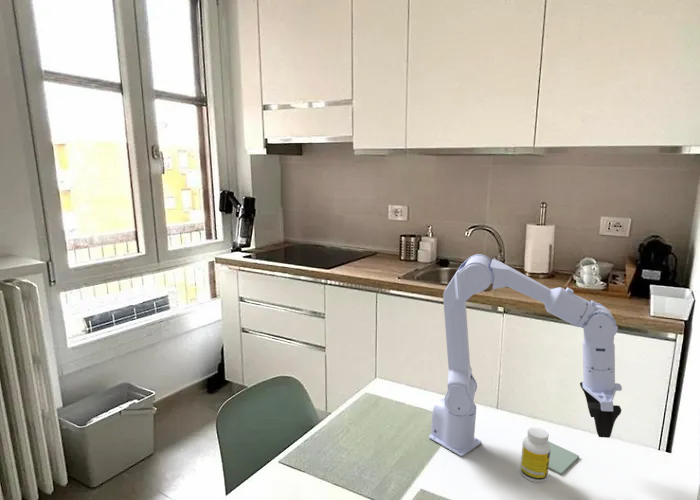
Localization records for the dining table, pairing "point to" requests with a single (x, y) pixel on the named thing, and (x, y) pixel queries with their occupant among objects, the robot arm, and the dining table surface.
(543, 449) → the supplement bottle
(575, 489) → the dining table surface
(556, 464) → the mat
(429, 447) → the dining table surface
